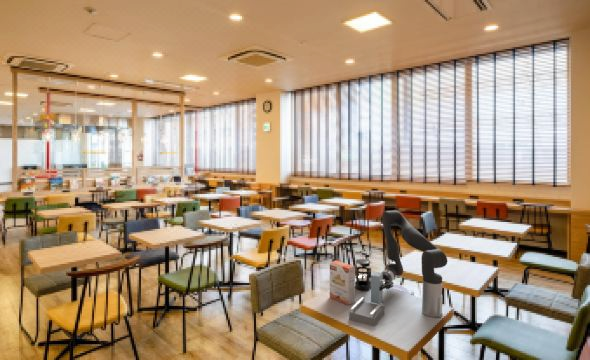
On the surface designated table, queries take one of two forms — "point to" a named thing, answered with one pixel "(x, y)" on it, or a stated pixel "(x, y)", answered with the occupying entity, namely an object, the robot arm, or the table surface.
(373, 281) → the light blue rectangular block
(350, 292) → the cracker box
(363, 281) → the french press
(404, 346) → the table surface
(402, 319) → the table surface
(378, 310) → the stand
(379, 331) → the table surface
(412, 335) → the table surface
